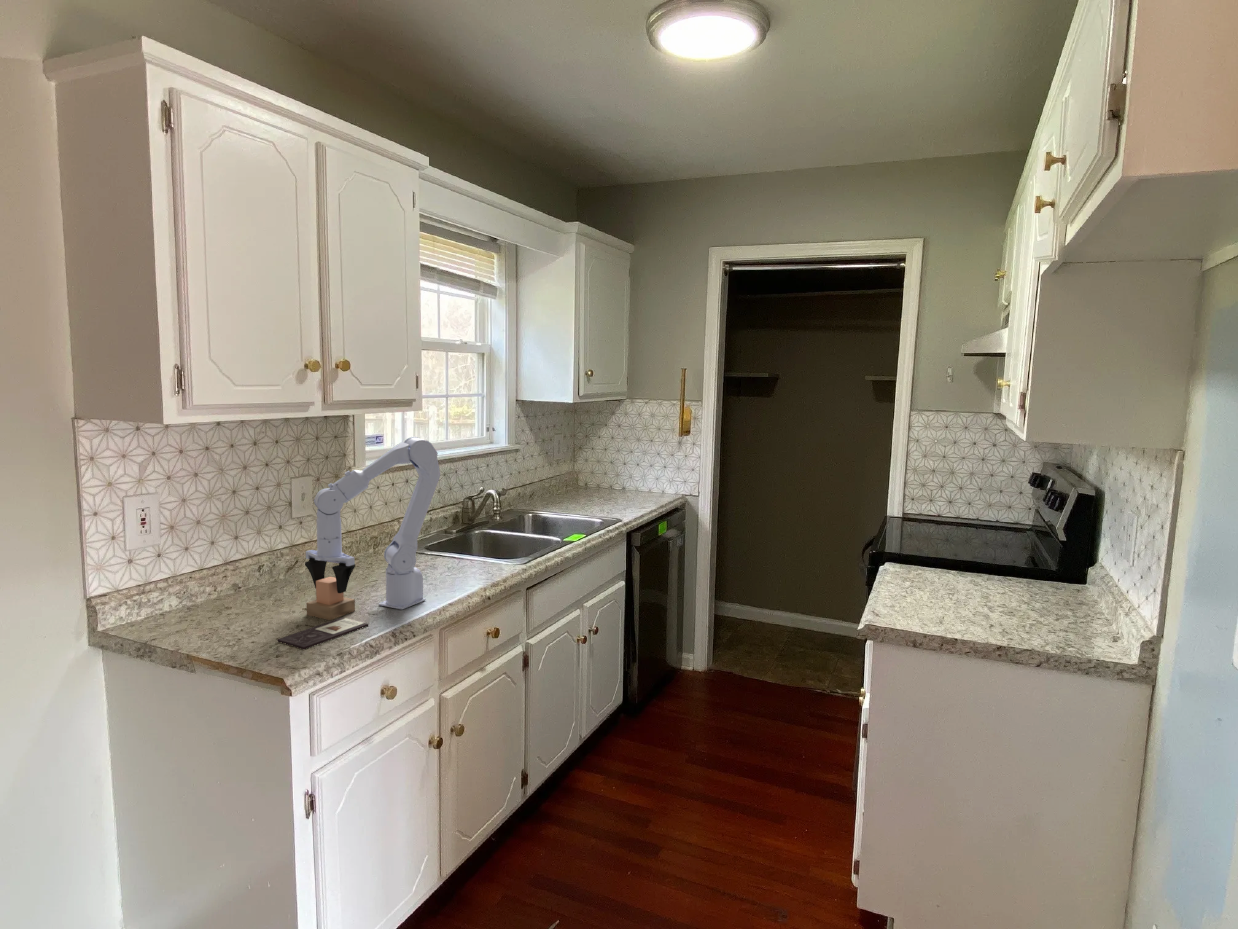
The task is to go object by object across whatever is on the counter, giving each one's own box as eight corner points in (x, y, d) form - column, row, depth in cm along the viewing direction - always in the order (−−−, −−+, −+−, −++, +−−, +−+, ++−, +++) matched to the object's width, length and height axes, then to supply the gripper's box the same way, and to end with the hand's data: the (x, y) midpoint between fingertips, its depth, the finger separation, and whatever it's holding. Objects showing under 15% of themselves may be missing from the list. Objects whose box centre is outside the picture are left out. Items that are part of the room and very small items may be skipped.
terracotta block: (330, 597, 187) (330, 576, 186) (343, 600, 185) (343, 579, 184) (316, 602, 183) (315, 580, 182) (329, 605, 181) (328, 583, 180)
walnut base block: (331, 607, 190) (331, 594, 190) (355, 612, 187) (354, 599, 186) (306, 616, 183) (306, 602, 182) (330, 621, 179) (330, 607, 179)
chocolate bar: (277, 639, 164) (342, 617, 180) (277, 643, 165) (342, 621, 180) (304, 647, 160) (368, 624, 176) (304, 651, 160) (368, 627, 176)
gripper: (295, 536, 182) (296, 589, 183) (338, 543, 176) (339, 598, 177) (317, 531, 188) (319, 582, 190) (360, 538, 182) (361, 591, 184)
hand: (330, 590), depth 184 cm, fingers open, 7 cm apart
